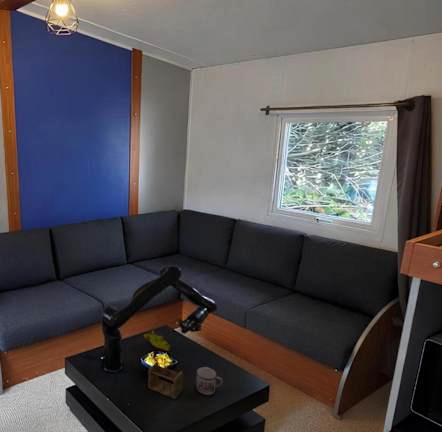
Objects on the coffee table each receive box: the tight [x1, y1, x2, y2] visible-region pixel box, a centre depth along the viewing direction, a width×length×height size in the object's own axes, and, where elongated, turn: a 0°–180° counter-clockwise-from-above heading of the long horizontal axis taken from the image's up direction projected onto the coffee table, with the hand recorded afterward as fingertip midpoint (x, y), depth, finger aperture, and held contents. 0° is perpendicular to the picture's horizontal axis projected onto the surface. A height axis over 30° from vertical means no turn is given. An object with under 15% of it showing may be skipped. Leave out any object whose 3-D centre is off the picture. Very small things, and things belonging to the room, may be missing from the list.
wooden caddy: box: [147, 361, 184, 400], centre depth 191 cm, size 14×8×10 cm, turn 53°
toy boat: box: [143, 330, 171, 352], centre depth 228 cm, size 6×18×10 cm, turn 34°
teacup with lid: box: [195, 366, 223, 396], centre depth 190 cm, size 12×9×12 cm
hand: (183, 331), depth 202 cm, fingers closed
